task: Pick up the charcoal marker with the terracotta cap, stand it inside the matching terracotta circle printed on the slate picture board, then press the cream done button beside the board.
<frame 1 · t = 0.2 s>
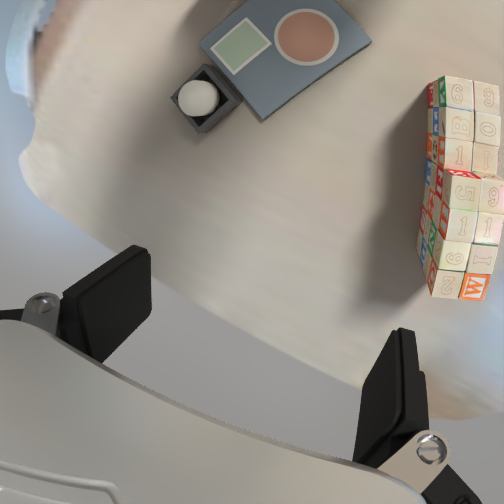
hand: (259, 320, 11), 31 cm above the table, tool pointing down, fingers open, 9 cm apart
done button: (199, 98, 36), point 3 cm above the table, slide at 0.0 cm
picture board: (281, 38, 33), on the table
stack of blocks: (447, 171, 33), on the table
button housing: (209, 98, 39), on the table
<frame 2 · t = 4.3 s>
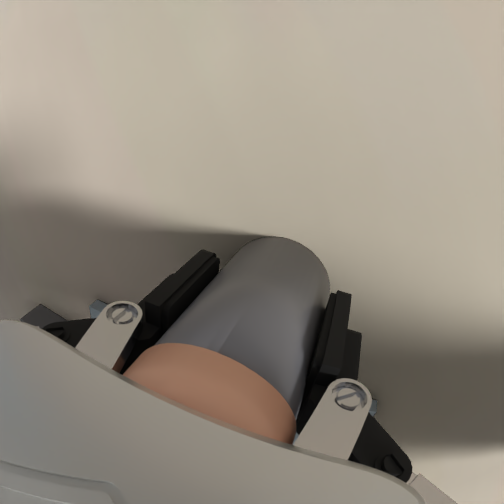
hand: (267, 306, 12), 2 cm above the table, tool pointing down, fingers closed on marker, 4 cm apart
picture board: (213, 421, 19), on the table
button housing: (74, 350, 22), on the table
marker: (277, 286, 13), on the table, touching gripper
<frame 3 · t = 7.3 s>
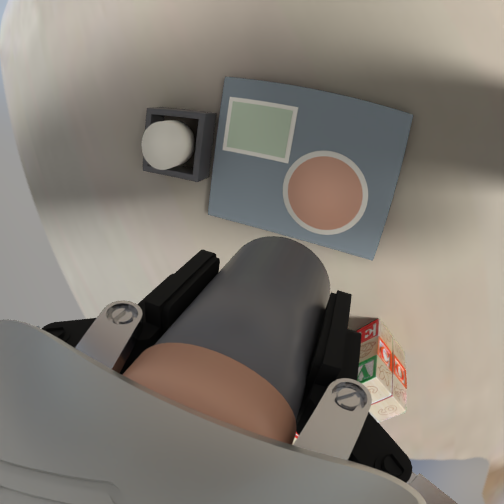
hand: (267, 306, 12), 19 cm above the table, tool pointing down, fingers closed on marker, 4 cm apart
done button: (167, 144, 29), point 3 cm above the table, slide at 0.0 cm
picture board: (304, 164, 28), on the table
stack of blocks: (318, 369, 38), on the table
button housing: (183, 140, 31), on the table
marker: (277, 285, 13), point 18 cm above the table, touching gripper
when the fingers open (4 cm above the table, at t = 10.6 s): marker drops 1 cm, resting on picture board.
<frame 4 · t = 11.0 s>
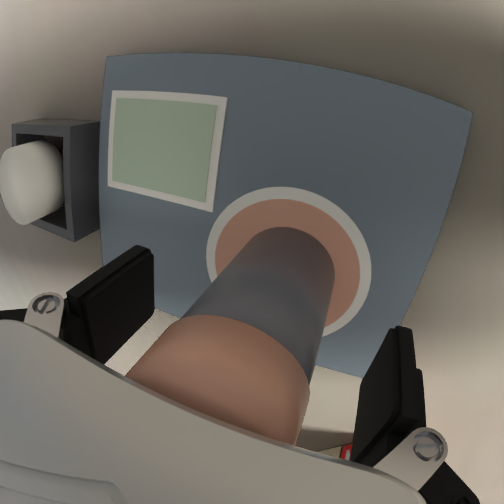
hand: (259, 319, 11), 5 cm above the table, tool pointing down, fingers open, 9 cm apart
done button: (30, 181, 15), point 3 cm above the table, slide at 0.0 cm
picture board: (245, 211, 15), on the table
button housing: (65, 169, 18), on the table
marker: (286, 273, 14), point 1 cm above the table, touching picture board
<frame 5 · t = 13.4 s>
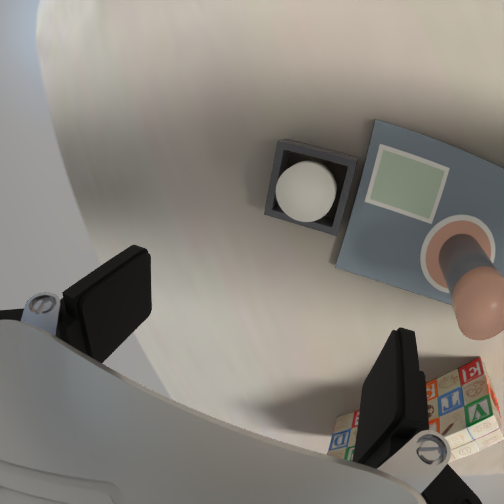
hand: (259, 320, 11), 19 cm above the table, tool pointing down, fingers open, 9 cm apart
done button: (307, 190, 25), point 3 cm above the table, slide at 0.0 cm
picture board: (442, 224, 25), on the table
stack of blocks: (413, 403, 34), on the table
button housing: (313, 182, 28), on the table
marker: (460, 256, 25), point 1 cm above the table, touching picture board
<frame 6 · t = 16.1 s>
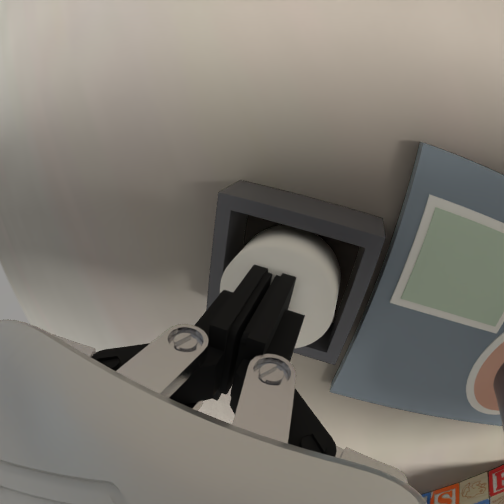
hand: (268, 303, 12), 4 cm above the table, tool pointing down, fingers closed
done button: (282, 287, 13), point 2 cm above the table, slide at 0.6 cm, touching gripper
stack of blocks: (427, 500, 21), on the table
button housing: (295, 262, 15), on the table
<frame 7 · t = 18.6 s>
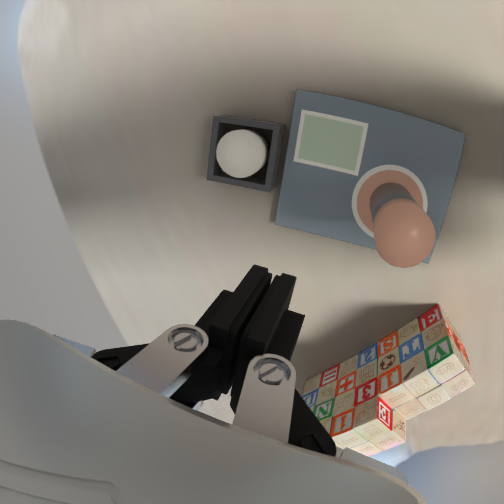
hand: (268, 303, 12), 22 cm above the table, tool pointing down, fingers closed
done button: (243, 152, 30), point 2 cm above the table, slide at 1.0 cm
picture board: (370, 176, 29), on the table
stack of blocks: (380, 359, 38), on the table
button housing: (249, 150, 32), on the table
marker: (391, 204, 29), point 1 cm above the table, touching picture board
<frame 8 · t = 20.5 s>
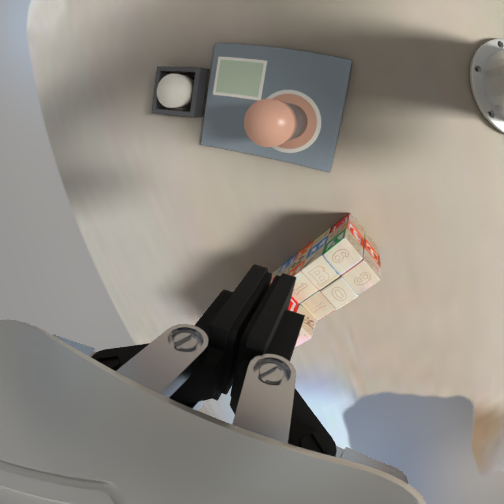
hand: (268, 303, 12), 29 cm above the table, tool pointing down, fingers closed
done button: (176, 90, 37), point 2 cm above the table, slide at 1.0 cm
picture board: (272, 101, 36), on the table
stack of blocks: (304, 273, 45), on the table
button housing: (184, 91, 39), on the table
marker: (289, 121, 36), point 1 cm above the table, touching picture board
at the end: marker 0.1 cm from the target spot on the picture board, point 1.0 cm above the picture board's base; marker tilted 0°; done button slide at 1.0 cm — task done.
